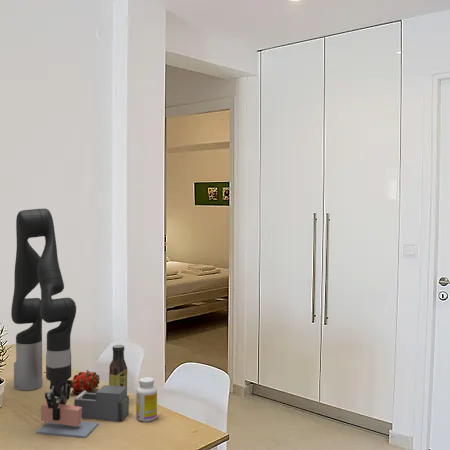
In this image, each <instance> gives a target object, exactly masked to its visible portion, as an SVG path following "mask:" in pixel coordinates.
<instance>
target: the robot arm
mask: <svg viewBox="0 0 450 450" xmlns="http://www.w3.org/2000/svg"><path fill="white" fill-rule="evenodd" d="M15 224H16V225H15V228H16V229H15V232H16V254H15V264H14V277H13V278H14V284H13V285H14V288H13V295H12V302H11V308H10V309H11V310H10V311H11V312H10V313H11V319H12V322H13V323H14V324H17V325H26V324H31V325H30V327H27V328H26V329H24V330H22V331H20V332H18V333H16V336H15V362H13V389H17V390H19V391H34V390H37V389H38V390H39V389H40V388H42V386H43V321H44V322H45V323H48V324H53V323H59V322H60V323H59V325H58V326H57V327H54V328H51V329H49V330H48V331H47V333H46V353H45V378H46V380H47V381H48V382H49V391H48V392H45V393H44V397H45V402H47V405H48V408H51V409H53V420H57V421H58V420H60V404H66V405H67V402H68V401H67V400H69V399H70V394H71V389H72V388H71V384H72V380H73V379H71V380H70V378H72V350H71V349H72V348H71V335H72V329H73V325H74V322H75V318H76V315H77V305H76V302H75V300H74V299H72V298H71V297H61V298H52V297H54V296H56V295H58V294H61V292H63V291H64V289H65V283H64V280H63V275H62V272H61V268H60V263H59V258H58V248H57V246H58V245H57V241H56V239H57V238H56V232H55V224H54V219H53V216H52V212H51V211H50V210H49V209H47V208H33V209H32V208H31V209H24V210H20V211H18V212H17V215H16V222H15ZM41 237H44V240H45V241H44V243H45V244H44V249H43V251H42V254H41V255H40V254H39V253H38V252H37V251H36V250H35V249H34V248H33V247H32V246H31V244H30V242H29V239H32V238H41ZM38 285H39V286H40V287H39V288H40V296H41V297H40V298H39V297H30V298H28V297H27V296H28V295H29V294H30V293H31V292H32V291H33V290H34V289H35V288H36V287H37V286H38ZM26 297H27V298H26Z"/></svg>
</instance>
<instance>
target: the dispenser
mask: <svg viewBox="0 0 450 450" xmlns="http://www.w3.org/2000/svg"><path fill="white" fill-rule="evenodd" d="M87 392H88V391H87ZM87 392H86V391H83V392H82V393H78V395H77V396H76V397H74V400H73V401H74V402H73V403H74V404H73V406H78V407H82V417H81V419H86V420H99V421H106V422H107V421H109V422H119V423H120V422H121V423H122V422H123V421H124V419H126V417H127V416H128V415H129V412H130V411H129V410H130V409H129V408H130V407H129V406H130V404H129V403H130V402H129V401H130V399H129V398H130V397H129V395H128V386H127V387H123V386H110V385H109V384H108V385H107V384H103V386H102V387H100V388H99V389H97V390H96V391H95V392H89V393H87Z"/></svg>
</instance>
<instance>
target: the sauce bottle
mask: <svg viewBox="0 0 450 450" xmlns="http://www.w3.org/2000/svg"><path fill="white" fill-rule="evenodd" d="M108 385H110V386H123V387H127V388H128V367H127V363H126V360H125V345H123V344H115V345H112V360H111V361H110V363H109V372H108Z"/></svg>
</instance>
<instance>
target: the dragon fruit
mask: <svg viewBox="0 0 450 450" xmlns="http://www.w3.org/2000/svg"><path fill="white" fill-rule="evenodd" d="M100 379H101V378H100V375H99V374H97V372H93V371H89V370H88V369H87V370H86V372H85V371H79V372H78V373H77V374H75V375H74V376H73V378H72V379H71V380H72V384H71V389H72V391H71V392H72V393H74V394H81V393H82V392H83V391H86V392H87V393H93V390H96V389H97V388H99V387H100Z"/></svg>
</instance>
